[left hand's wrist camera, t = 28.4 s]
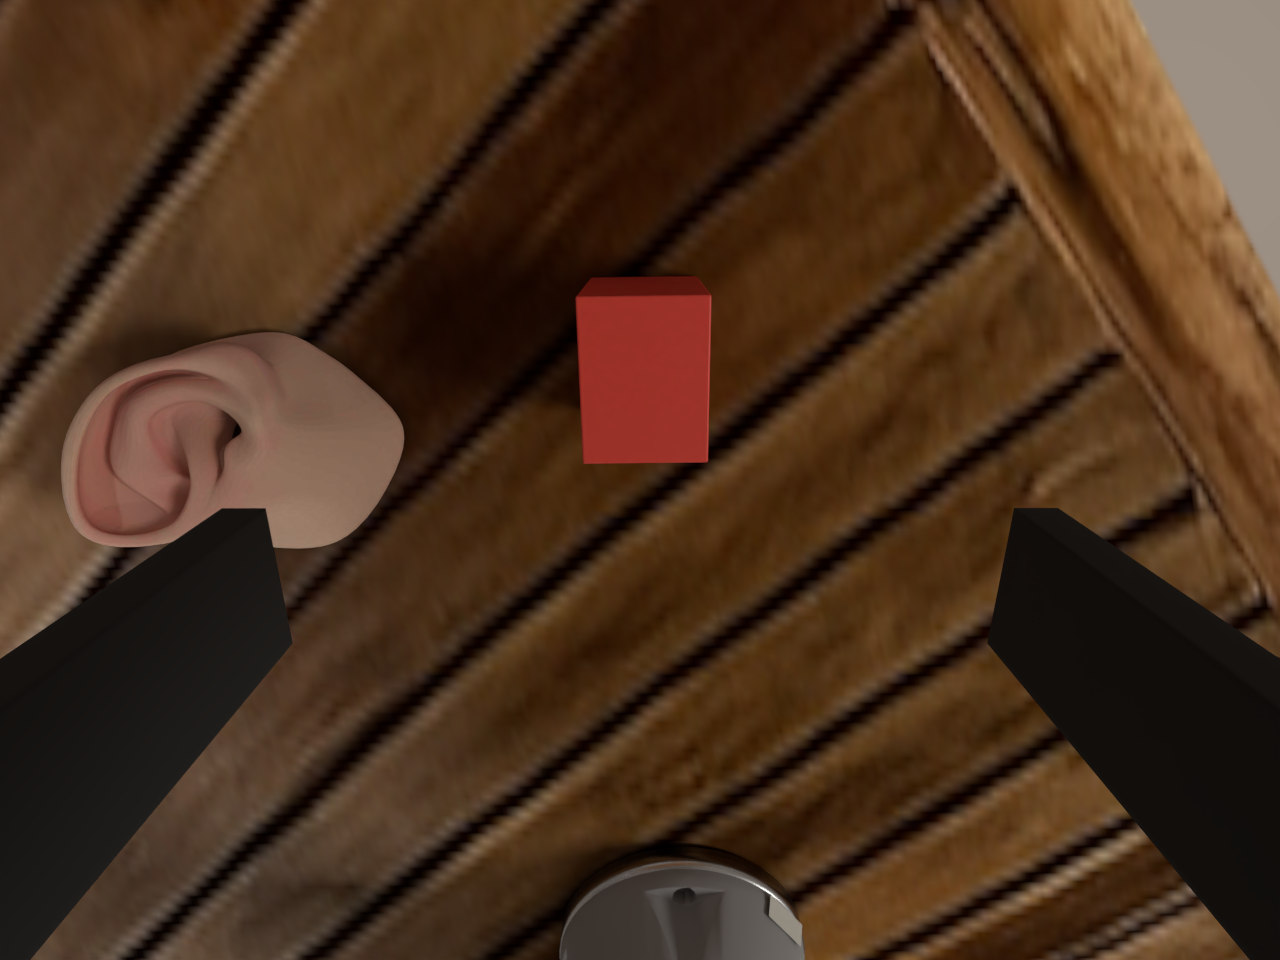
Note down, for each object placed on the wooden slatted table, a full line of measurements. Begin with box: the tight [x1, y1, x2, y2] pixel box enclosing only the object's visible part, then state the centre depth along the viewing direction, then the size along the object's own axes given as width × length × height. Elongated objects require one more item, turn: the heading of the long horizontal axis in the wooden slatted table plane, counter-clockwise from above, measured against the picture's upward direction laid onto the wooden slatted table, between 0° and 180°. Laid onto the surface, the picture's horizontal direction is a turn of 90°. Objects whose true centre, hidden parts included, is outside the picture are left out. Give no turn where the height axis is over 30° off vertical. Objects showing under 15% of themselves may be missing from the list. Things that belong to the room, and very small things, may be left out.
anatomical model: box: [61, 332, 404, 548], centre depth 31 cm, size 13×4×12 cm
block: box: [575, 276, 711, 464], centre depth 28 cm, size 5×6×7 cm
